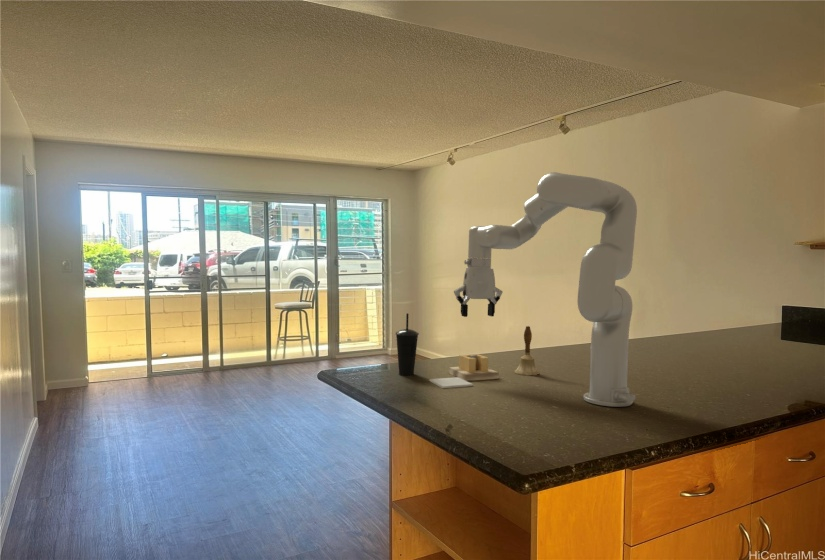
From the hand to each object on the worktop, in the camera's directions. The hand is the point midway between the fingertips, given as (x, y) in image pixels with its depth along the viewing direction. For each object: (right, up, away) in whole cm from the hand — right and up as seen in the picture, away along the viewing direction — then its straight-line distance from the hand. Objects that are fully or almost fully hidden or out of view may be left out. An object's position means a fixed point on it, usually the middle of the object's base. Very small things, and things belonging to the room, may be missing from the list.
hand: (477, 316), depth 177 cm
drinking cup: (-23, -19, 0) cm, 30 cm away
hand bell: (+17, -20, +6) cm, 27 cm away
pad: (-10, -20, -12) cm, 25 cm away
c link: (-2, -18, -1) cm, 18 cm away
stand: (-2, -20, -1) cm, 20 cm away
